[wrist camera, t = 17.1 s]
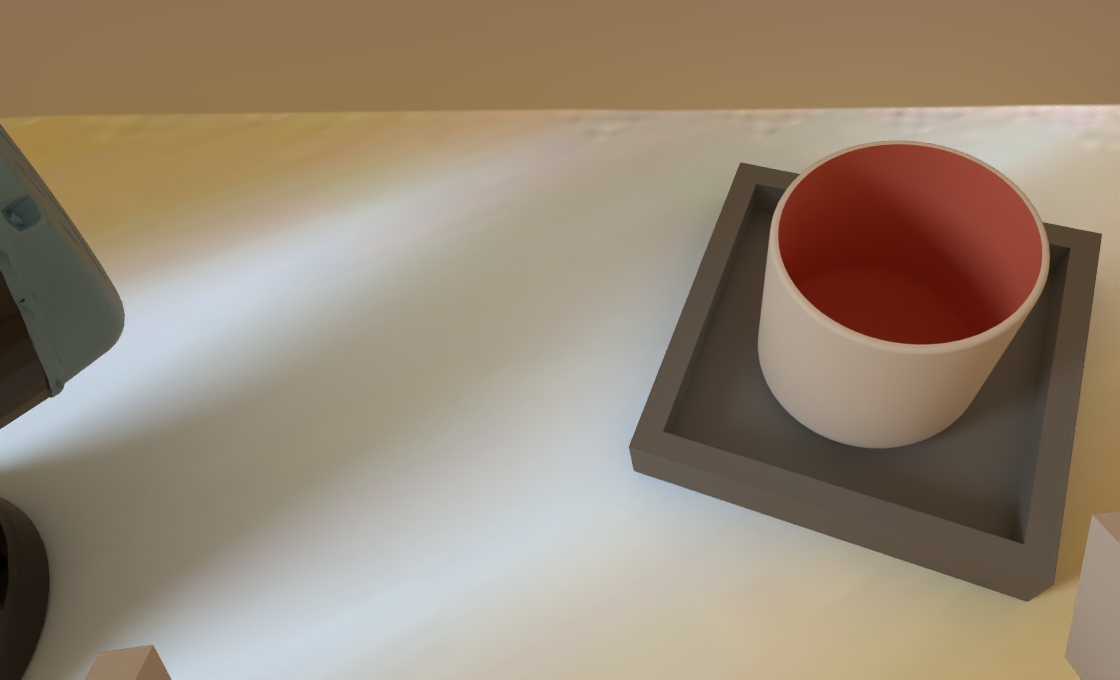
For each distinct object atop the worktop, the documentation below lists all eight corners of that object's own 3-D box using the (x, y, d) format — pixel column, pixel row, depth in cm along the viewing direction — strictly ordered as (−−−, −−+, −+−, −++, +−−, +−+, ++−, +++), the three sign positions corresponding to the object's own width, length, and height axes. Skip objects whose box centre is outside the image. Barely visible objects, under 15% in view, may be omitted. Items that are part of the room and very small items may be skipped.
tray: (633, 470, 39) (629, 446, 37) (738, 198, 47) (740, 162, 44) (1027, 601, 34) (1053, 584, 31) (1077, 270, 41) (1101, 233, 39)
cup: (797, 252, 43) (820, 114, 35) (998, 314, 40) (1078, 177, 31) (724, 409, 39) (730, 297, 31) (939, 493, 36) (1013, 392, 27)
